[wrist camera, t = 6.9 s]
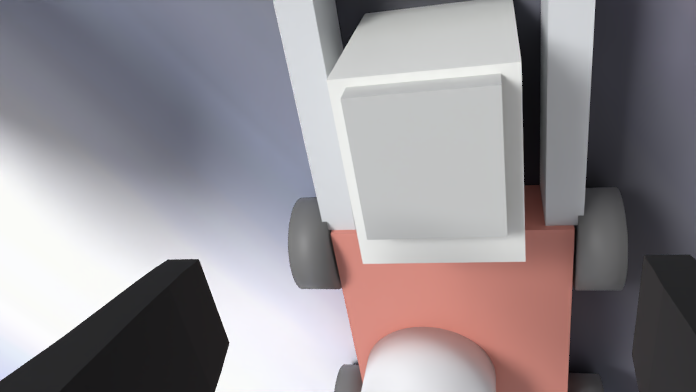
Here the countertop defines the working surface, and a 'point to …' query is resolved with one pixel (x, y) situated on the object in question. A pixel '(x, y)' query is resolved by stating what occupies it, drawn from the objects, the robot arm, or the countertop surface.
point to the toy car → (473, 277)
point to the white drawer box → (434, 133)
